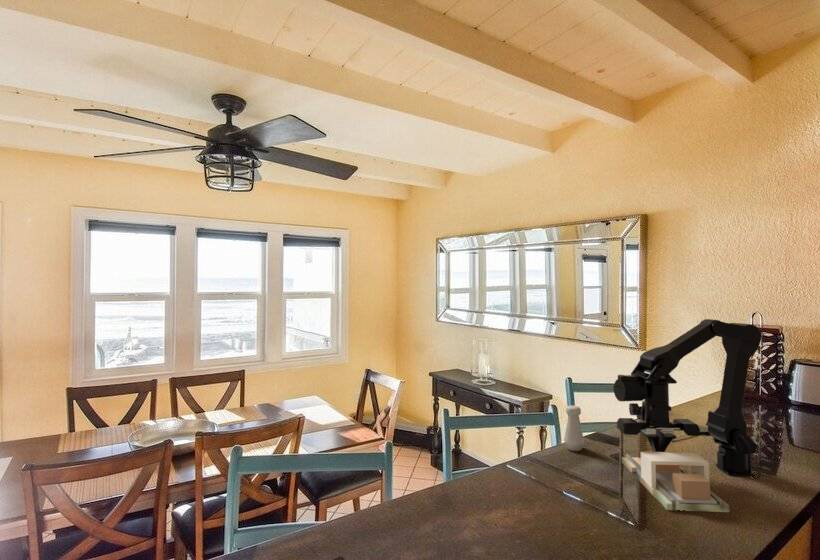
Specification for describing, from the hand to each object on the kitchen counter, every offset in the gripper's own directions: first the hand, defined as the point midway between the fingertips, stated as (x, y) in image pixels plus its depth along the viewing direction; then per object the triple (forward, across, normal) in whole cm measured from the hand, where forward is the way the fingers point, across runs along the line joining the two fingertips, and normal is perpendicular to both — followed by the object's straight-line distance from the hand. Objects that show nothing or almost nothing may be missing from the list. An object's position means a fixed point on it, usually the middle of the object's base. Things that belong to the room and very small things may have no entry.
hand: (657, 459), depth 116 cm
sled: (+2, 0, +10) cm, 10 cm away
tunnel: (+2, 0, +9) cm, 9 cm away
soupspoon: (+5, -24, -32) cm, 40 cm away
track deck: (+4, 0, +6) cm, 7 cm away
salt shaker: (+4, +17, -17) cm, 25 cm away
